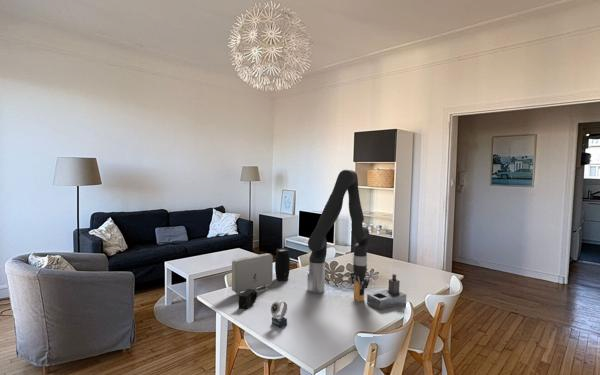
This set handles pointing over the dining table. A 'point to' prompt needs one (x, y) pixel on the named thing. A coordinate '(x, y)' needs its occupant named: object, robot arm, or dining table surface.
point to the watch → (279, 319)
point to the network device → (252, 273)
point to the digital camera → (247, 299)
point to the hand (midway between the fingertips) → (359, 293)
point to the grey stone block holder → (385, 299)
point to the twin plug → (393, 285)
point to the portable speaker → (282, 264)
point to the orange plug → (357, 291)
